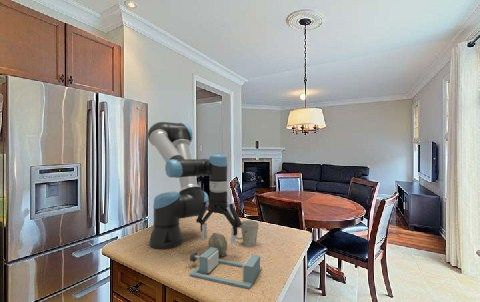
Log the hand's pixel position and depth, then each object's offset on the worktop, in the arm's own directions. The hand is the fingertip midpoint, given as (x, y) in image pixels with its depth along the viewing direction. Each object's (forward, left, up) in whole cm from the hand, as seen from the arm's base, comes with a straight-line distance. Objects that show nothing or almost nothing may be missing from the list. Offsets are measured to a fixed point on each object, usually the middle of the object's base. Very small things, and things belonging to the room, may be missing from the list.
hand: (218, 241), depth 104 cm
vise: (+9, -13, -6) cm, 17 cm away
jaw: (0, -13, -5) cm, 14 cm away
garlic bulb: (0, 0, -6) cm, 6 cm away
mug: (+7, +15, -6) cm, 18 cm away
